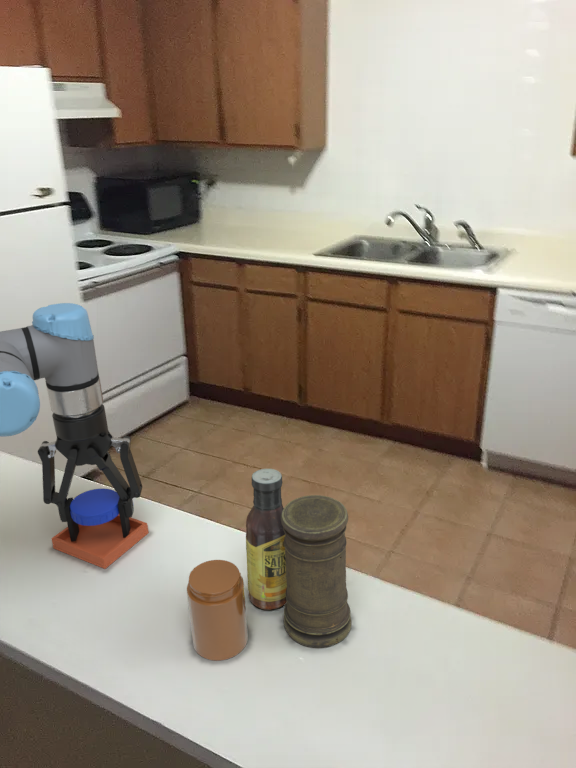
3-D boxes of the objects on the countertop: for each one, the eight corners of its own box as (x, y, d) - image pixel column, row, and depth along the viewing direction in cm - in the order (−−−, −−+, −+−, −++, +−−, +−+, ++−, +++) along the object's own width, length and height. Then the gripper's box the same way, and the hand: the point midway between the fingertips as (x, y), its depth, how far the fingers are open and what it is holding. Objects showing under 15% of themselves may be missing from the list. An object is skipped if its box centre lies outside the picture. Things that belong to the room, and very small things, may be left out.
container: (361, 639, 87) (362, 525, 80) (295, 656, 85) (290, 540, 78) (337, 594, 95) (336, 487, 88) (276, 609, 93) (270, 499, 86)
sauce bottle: (271, 619, 91) (263, 495, 83) (239, 598, 95) (229, 479, 87) (302, 594, 96) (298, 474, 88) (271, 575, 99) (264, 459, 92)
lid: (125, 496, 110) (124, 486, 109) (117, 524, 103) (115, 514, 102) (77, 499, 110) (76, 489, 109) (66, 527, 103) (64, 517, 102)
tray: (53, 548, 107) (51, 538, 106) (98, 515, 115) (96, 505, 115) (105, 569, 102) (103, 558, 101) (148, 533, 110) (147, 522, 109)
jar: (191, 662, 85) (183, 597, 80) (194, 621, 91) (187, 559, 87) (248, 658, 85) (243, 593, 81) (247, 617, 92) (242, 555, 87)
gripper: (150, 393, 103) (166, 516, 112) (15, 401, 102) (43, 525, 111) (144, 414, 96) (162, 544, 105) (-1, 423, 95) (30, 553, 104)
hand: (101, 534), depth 108 cm, fingers closed on lid, 8 cm apart
